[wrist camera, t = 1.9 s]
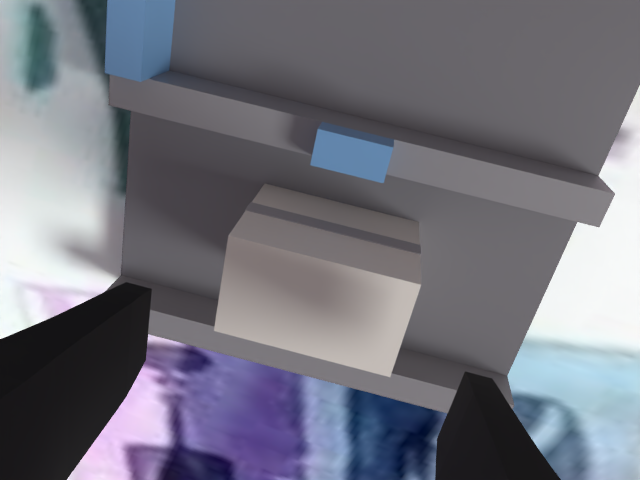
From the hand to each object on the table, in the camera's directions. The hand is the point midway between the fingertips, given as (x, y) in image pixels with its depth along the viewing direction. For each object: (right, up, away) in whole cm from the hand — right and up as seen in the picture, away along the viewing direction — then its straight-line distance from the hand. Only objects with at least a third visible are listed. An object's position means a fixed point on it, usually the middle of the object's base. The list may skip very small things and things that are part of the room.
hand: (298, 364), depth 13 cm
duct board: (+2, +6, +5) cm, 8 cm away
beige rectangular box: (+1, +3, +6) cm, 6 cm away
